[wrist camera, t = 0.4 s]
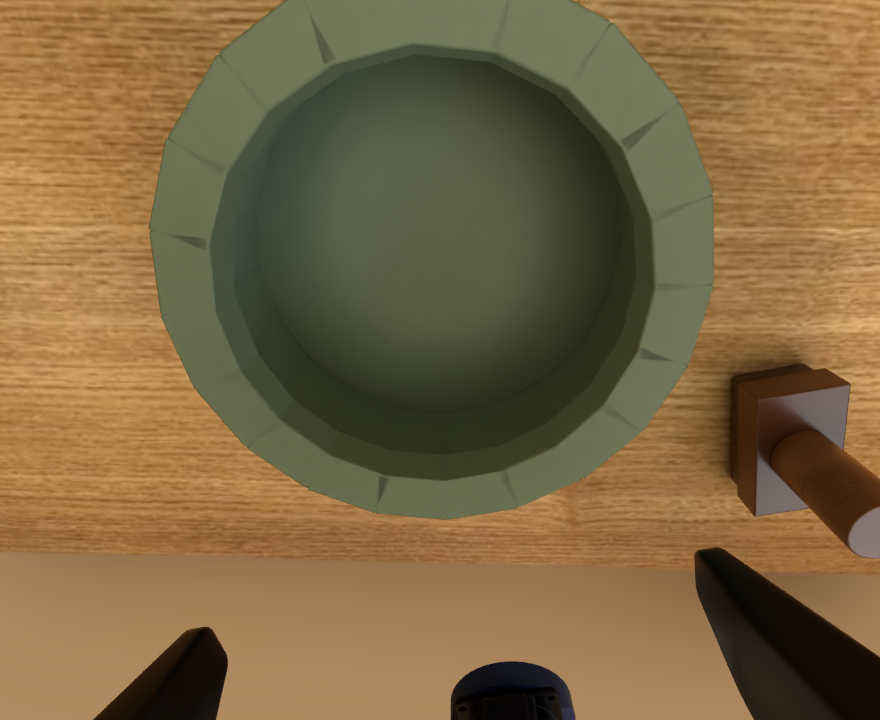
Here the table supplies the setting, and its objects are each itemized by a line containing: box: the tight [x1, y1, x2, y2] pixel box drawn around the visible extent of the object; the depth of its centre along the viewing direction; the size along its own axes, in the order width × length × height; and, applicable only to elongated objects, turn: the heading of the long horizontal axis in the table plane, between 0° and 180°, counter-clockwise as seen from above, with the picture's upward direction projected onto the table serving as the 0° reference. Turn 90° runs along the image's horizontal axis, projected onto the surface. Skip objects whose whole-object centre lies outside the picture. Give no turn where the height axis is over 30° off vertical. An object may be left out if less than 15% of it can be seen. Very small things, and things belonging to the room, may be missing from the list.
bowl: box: [149, 0, 714, 519], centre depth 17 cm, size 15×15×7 cm
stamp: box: [731, 364, 880, 559], centre depth 20 cm, size 6×4×7 cm, turn 13°
